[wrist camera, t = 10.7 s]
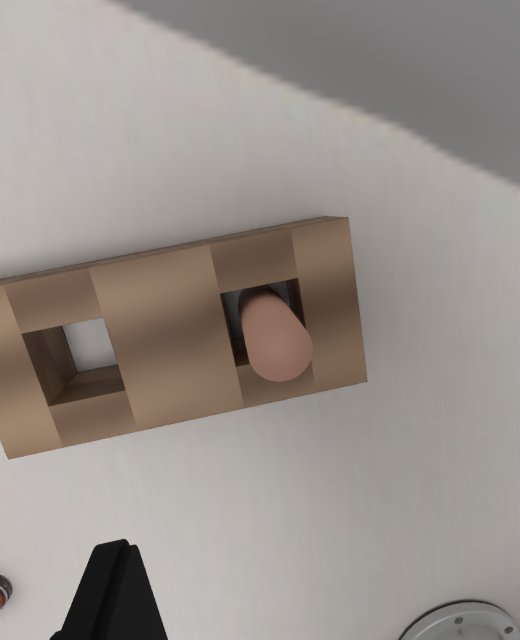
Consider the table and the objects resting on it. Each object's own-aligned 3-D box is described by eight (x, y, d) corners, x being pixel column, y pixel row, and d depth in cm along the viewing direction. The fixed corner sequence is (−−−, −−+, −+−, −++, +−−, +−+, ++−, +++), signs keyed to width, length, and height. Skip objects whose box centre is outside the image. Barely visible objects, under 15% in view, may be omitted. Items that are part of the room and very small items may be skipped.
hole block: (343, 353, 29) (367, 381, 25) (43, 417, 28) (8, 459, 24) (324, 216, 27) (348, 217, 22) (-8, 280, 26) (-61, 297, 21)
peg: (283, 319, 28) (317, 374, 19) (241, 328, 28) (254, 387, 18) (276, 278, 27) (308, 313, 18) (233, 287, 27) (242, 326, 18)
